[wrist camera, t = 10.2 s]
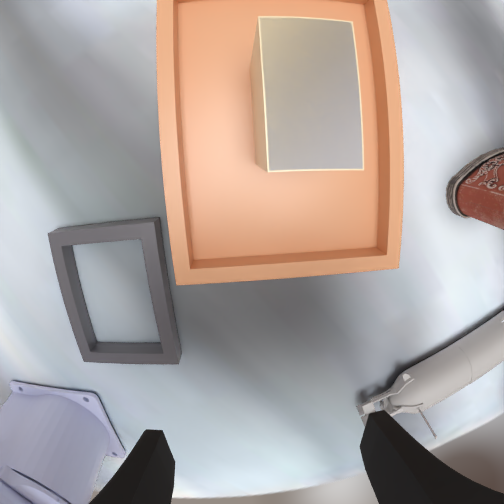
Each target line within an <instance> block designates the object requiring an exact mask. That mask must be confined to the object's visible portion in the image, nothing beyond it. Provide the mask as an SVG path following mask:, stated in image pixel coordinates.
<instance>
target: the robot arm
mask: <svg viewBox="0 0 504 504" xmlns="http://www.w3.org/2000/svg"><path fill="white" fill-rule="evenodd" d="M9 386H10V388H11V390H12V394H11V395H10V396H9V398H8V399H7V400H6V402H5V403H4V405H3V406H2V407H1V409H0V504H171V499H172V493H173V488H174V476H175V460H174V458H173V455H172V453H171V451H170V448H169V446H168V443H167V440H166V438H165V435H164V433H163V430H147V429H146V430H145V431H144V432H143V434H142V436H141V437H140V439H139V440H138V442H137V443H136V445H135V446H134V448H133V449H132V451H131V452H130V454H129V455H128V457H127V458H126V460H125V461H124V462H123V464H122V465H121V466H120V468H119V469H118V471H117V472H116V473H115V475H114V476H113V477H112V478H111V480H110V481H109V482H108V483H107V484H106V485H105V487H104V488H103V489H102V490H101V491H100V492H99V494H98V495H97V496H96V497H95V498H94V499H93V500H92V501H91V502H90V499H91V496H92V493H93V490H94V487H95V484H96V481H97V478H98V475H99V472H100V469H101V466H102V463H103V460H104V457H105V455H106V456H112V457H120V458H124V457H125V455H126V452H125V451H124V449H123V447H122V445H121V443H120V441H119V439H118V437H117V436H116V434H115V432H114V430H113V428H112V426H111V424H110V421H109V419H108V417H107V415H106V413H105V411H104V409H103V407H102V404H101V402H100V400H99V398H98V396H97V395H96V394H94V393H90V392H81V391H72V390H65V389H57V388H50V387H44V386H38V385H32V384H26V383H21V382H16V381H11V382H10V383H9ZM360 450H361V454H362V458H363V462H364V466H365V470H366V472H367V475H368V477H369V480H370V482H371V485H372V487H373V490H374V492H375V495H376V497H377V499H378V502H379V504H504V494H503V493H500V492H497V491H494V490H492V489H489V488H487V487H485V486H483V485H481V484H478V483H476V482H474V481H472V480H470V479H468V478H467V477H465V476H463V475H461V474H460V473H458V472H456V471H455V470H453V469H452V468H450V467H449V466H447V465H446V464H444V463H443V462H442V461H440V460H439V459H438V458H436V457H435V456H434V455H433V454H431V453H430V452H429V451H428V450H427V449H425V448H424V447H423V446H422V445H421V444H420V443H419V442H417V441H416V440H415V439H414V438H413V437H412V436H411V435H410V434H409V433H408V432H407V431H406V430H405V429H403V428H402V427H401V426H400V425H399V424H398V423H397V422H396V421H395V420H394V419H393V418H392V417H391V416H390V415H389V414H388V413H387V412H386V411H385V410H382V411H378V412H373V413H369V415H368V419H367V422H366V426H365V430H364V433H363V437H362V440H361V444H360Z"/></svg>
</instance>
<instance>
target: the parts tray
mask: <svg viewBox="0 0 504 504" xmlns="http://www.w3.org/2000/svg"><path fill="white" fill-rule="evenodd" d="M258 16H291V17H311V18H325V19H335V20H344V21H352V22H353V27H354V34H355V42H356V50H357V59H358V68H359V79H360V90H361V104H362V121H363V144H364V170H327V171H288V172H266V171H265V170H263V169H262V168H260V167H259V166H257V165H256V164H255V146H254V128H253V110H252V93H251V77H250V64H251V57H252V51H253V44H254V38H255V32H256V26H257V19H258ZM156 43H157V92H158V114H159V131H160V146H161V159H162V171H163V182H164V192H165V202H166V211H167V220H168V228H169V236H170V244H171V252H172V259H173V266H174V273H175V280H176V285H192V284H209V283H225V282H240V281H255V280H269V279H282V278H295V277H308V276H320V275H332V274H343V273H355V272H365V271H376V270H386V269H396V268H399V259H400V248H401V234H402V217H403V187H404V153H403V124H402V107H401V94H400V83H399V74H398V65H397V57H396V50H395V43H394V36H393V30H392V24H391V19H390V13H389V8H388V3H387V0H157V35H156Z"/></svg>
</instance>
